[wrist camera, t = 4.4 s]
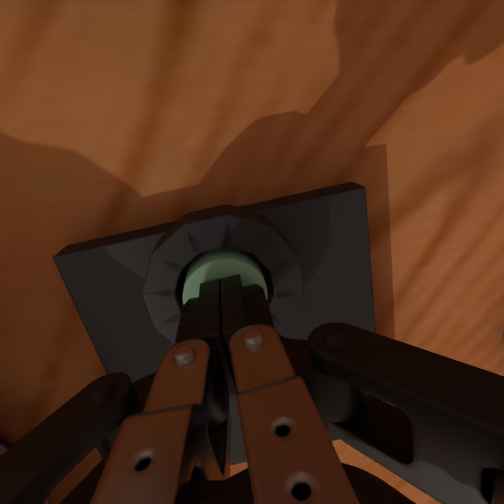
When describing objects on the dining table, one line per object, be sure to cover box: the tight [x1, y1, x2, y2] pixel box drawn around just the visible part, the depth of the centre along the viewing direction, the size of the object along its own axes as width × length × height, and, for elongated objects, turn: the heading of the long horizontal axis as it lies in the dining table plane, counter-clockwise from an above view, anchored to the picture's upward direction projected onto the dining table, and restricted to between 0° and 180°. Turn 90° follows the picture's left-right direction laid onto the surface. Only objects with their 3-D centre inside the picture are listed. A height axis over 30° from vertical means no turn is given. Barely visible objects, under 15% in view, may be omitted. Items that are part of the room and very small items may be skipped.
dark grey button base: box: [53, 182, 380, 465], centre depth 16 cm, size 15×13×3 cm
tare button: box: [183, 247, 267, 304], centre depth 13 cm, size 3×3×2 cm
